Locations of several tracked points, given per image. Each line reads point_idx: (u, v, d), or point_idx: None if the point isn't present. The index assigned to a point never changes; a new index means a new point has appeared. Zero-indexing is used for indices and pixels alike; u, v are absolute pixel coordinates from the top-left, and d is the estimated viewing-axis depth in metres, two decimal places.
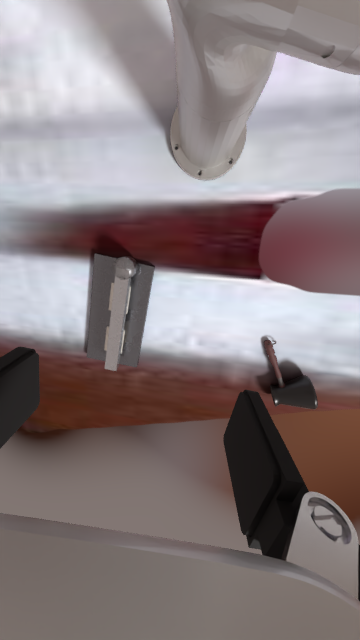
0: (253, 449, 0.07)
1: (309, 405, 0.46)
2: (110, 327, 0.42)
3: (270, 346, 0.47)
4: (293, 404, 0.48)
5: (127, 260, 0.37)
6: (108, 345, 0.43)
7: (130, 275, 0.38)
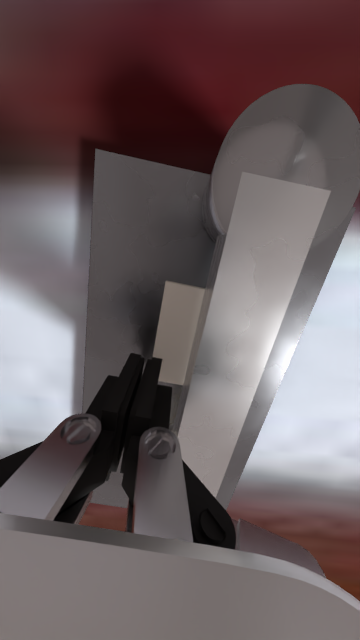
0: None
1: None
2: None
3: None
4: None
5: (334, 110, 0.05)
6: None
7: (326, 227, 0.06)
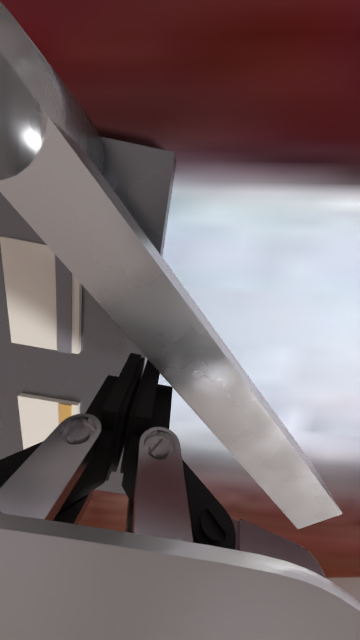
0: None
1: None
2: (199, 410, 0.09)
3: None
4: None
5: None
6: (249, 466, 0.10)
7: (34, 80, 0.05)
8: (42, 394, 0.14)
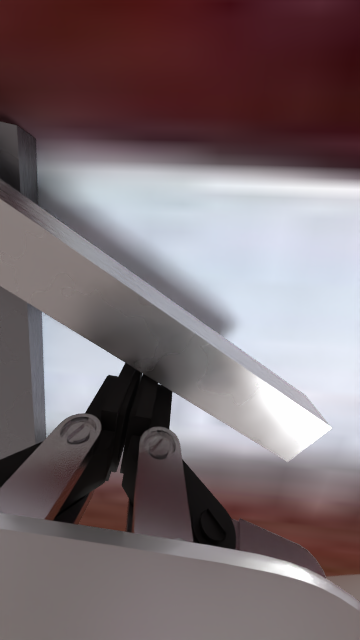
0: None
1: None
2: (94, 337, 0.07)
3: None
4: None
5: None
6: (187, 394, 0.08)
7: None
8: None
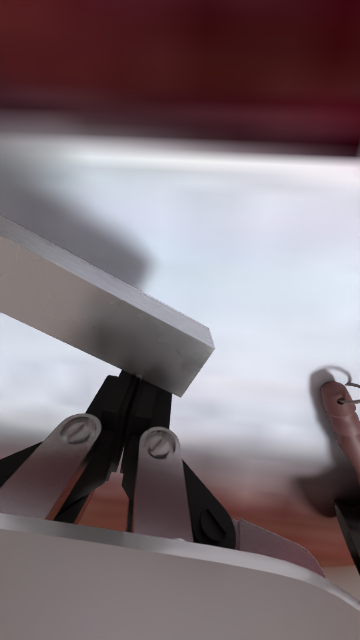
0: None
1: None
2: None
3: (348, 408, 0.13)
4: None
5: None
6: (40, 324, 0.07)
7: None
8: None
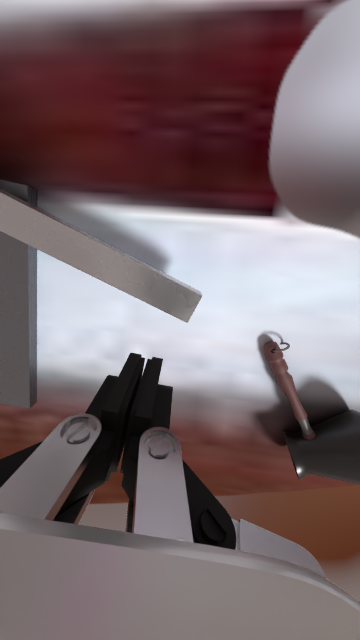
0: None
1: None
2: (72, 262, 0.16)
3: (277, 355, 0.22)
4: (338, 478, 0.22)
5: None
6: (122, 287, 0.16)
7: None
8: None
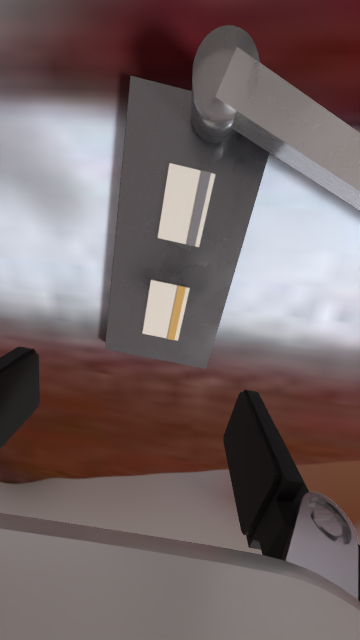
0: (253, 449, 0.07)
1: None
2: None
3: None
4: None
5: (207, 43, 0.12)
6: None
7: (252, 50, 0.12)
8: (165, 280, 0.21)
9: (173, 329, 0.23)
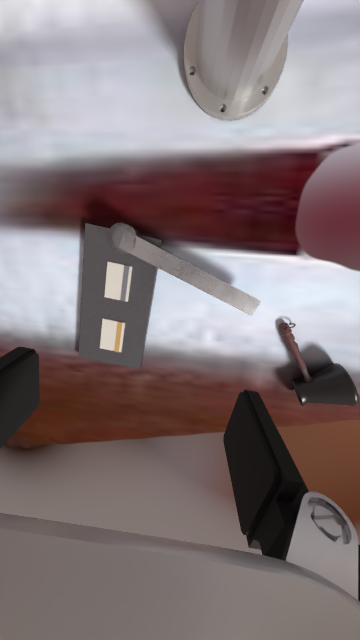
0: (253, 449, 0.07)
1: (347, 401, 0.36)
2: (195, 285, 0.31)
3: (288, 330, 0.37)
4: (326, 401, 0.37)
5: (112, 228, 0.28)
6: (219, 297, 0.31)
7: (131, 231, 0.28)
8: (111, 318, 0.37)
9: (117, 346, 0.39)
